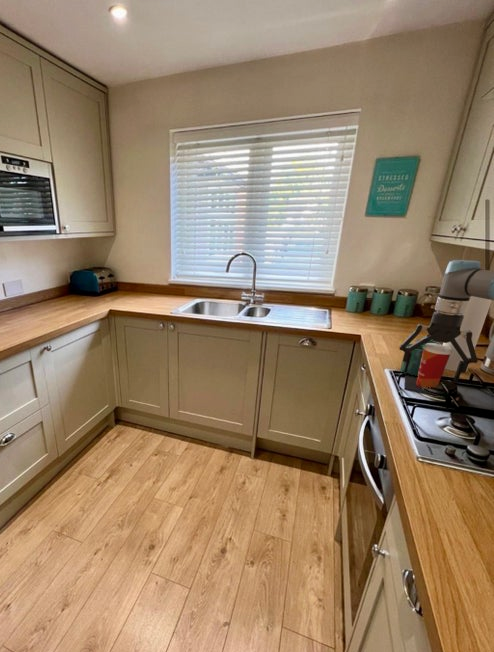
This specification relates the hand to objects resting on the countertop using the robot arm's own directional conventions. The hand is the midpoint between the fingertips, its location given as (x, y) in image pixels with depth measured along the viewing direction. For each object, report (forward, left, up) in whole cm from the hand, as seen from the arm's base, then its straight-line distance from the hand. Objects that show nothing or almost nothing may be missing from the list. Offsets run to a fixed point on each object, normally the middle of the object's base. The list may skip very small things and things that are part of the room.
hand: (429, 375), depth 108 cm
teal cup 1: (+4, -12, -4) cm, 13 cm away
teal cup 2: (+1, -21, -4) cm, 21 cm away
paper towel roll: (-9, -28, -4) cm, 30 cm away
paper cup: (0, 0, -4) cm, 4 cm away
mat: (0, 0, -4) cm, 4 cm away
